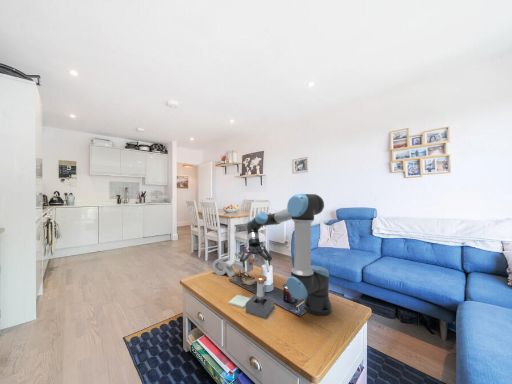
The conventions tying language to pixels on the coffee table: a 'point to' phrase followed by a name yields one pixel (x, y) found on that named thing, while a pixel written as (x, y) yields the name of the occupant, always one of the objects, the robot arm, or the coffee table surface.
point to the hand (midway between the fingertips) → (257, 271)
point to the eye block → (260, 306)
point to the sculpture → (223, 266)
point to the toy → (249, 263)
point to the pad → (239, 301)
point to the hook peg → (260, 288)
